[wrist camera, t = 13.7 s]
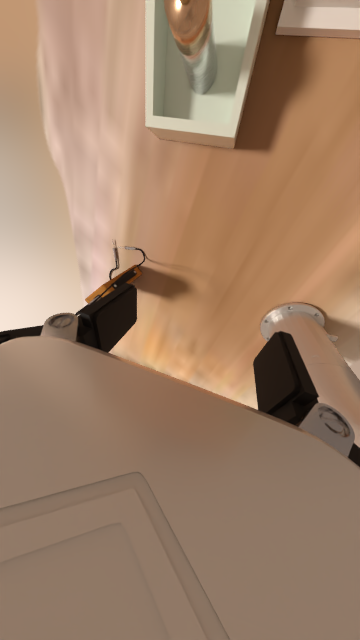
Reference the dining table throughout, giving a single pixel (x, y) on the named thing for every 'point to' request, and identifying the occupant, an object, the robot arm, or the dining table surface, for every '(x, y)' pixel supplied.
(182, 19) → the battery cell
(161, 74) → the white open box
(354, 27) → the checker cradle
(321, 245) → the dining table surface
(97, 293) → the multimeter
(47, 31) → the dining table surface
